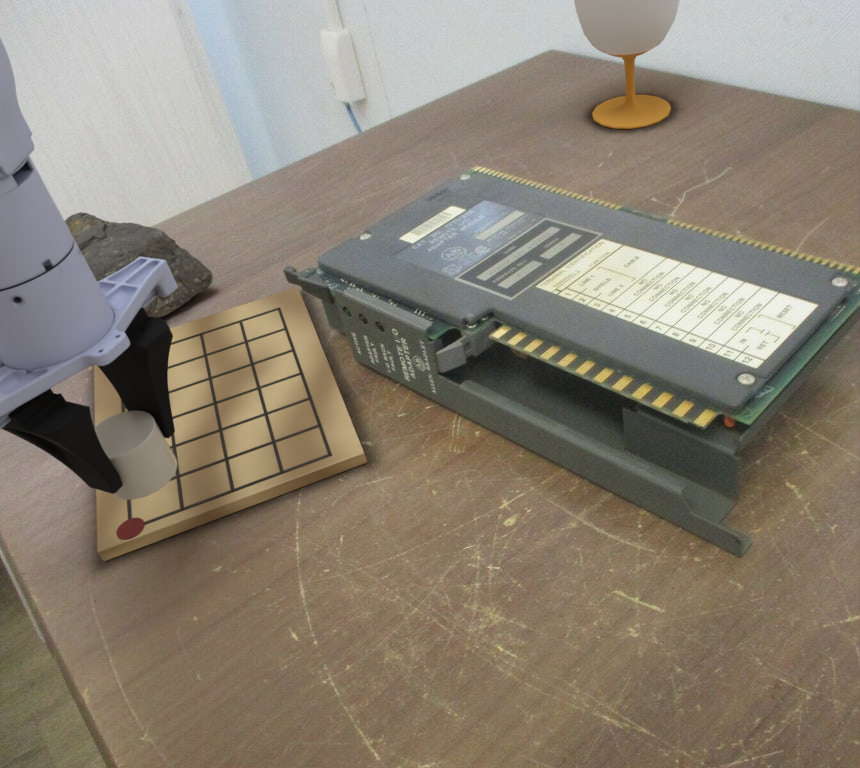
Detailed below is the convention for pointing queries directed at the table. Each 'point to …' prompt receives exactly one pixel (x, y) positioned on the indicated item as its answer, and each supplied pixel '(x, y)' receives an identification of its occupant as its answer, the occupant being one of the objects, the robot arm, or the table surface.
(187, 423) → the board
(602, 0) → the cup
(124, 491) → the grey short cylinder
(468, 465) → the table surface
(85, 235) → the rock
